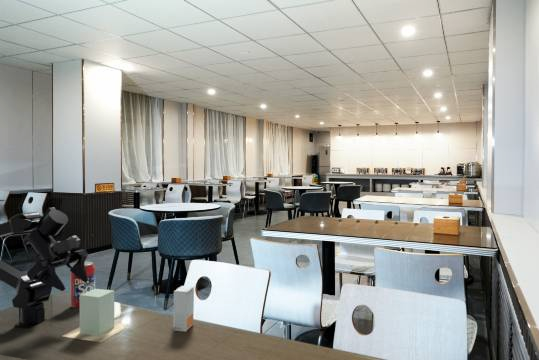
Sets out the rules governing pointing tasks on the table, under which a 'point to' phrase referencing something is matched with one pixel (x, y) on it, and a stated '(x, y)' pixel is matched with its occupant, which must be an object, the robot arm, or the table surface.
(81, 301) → the pale green carton
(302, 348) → the table surface
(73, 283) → the soda can
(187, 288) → the skincare box
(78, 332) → the birch base
